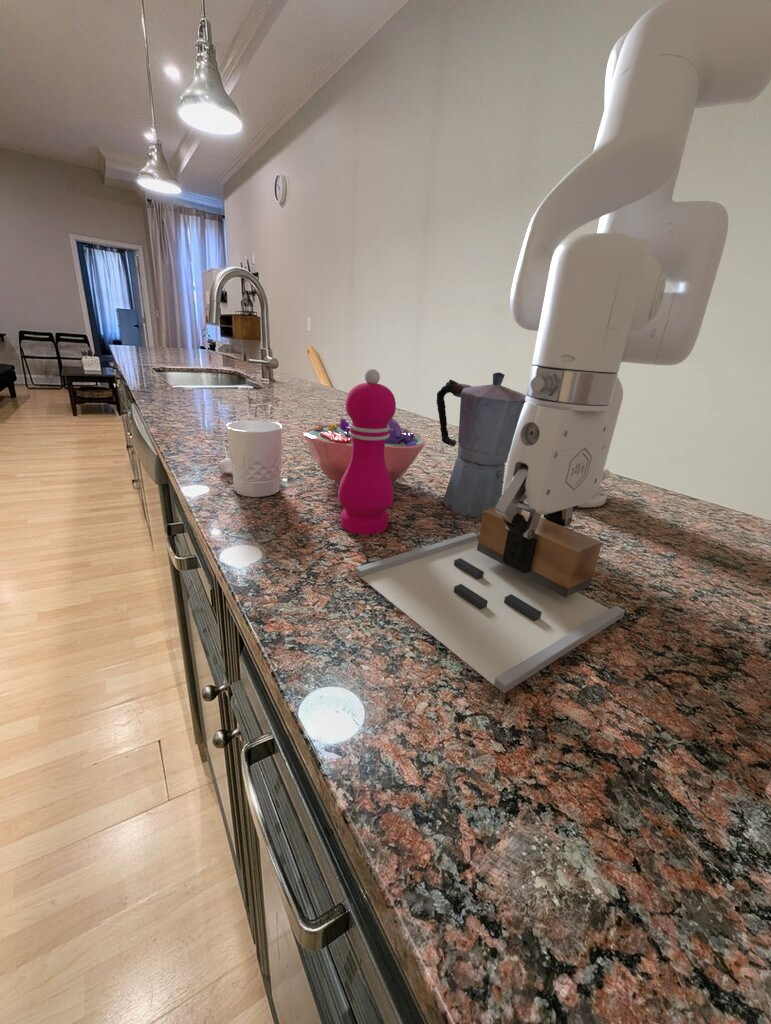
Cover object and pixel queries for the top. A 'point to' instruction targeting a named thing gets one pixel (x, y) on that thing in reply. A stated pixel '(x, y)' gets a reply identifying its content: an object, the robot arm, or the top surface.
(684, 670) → the top surface
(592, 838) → the top surface
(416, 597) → the memo board
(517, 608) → the stroke
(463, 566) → the stroke
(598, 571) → the top surface
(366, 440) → the pepper mill
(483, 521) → the eraser
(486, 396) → the moka pot
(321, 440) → the cell model
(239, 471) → the white cup
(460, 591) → the stroke
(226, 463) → the macaroon
